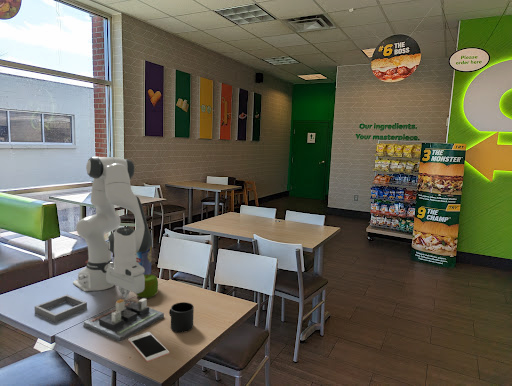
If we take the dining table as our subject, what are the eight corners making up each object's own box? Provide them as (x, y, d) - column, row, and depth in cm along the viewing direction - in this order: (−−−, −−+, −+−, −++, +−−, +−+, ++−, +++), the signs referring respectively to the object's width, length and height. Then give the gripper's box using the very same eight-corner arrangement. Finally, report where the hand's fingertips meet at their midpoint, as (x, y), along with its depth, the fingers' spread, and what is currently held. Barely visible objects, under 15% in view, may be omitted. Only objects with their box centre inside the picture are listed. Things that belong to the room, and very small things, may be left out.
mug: (176, 317, 157) (177, 298, 156) (197, 325, 151) (198, 305, 150) (161, 326, 149) (161, 306, 148) (182, 335, 143) (183, 314, 142)
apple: (151, 289, 186) (151, 269, 185) (162, 295, 179) (162, 275, 177) (131, 294, 178) (131, 274, 177) (141, 302, 171) (141, 280, 169)
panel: (83, 326, 147) (83, 308, 146) (129, 304, 167) (129, 288, 166) (119, 342, 136) (119, 323, 135) (163, 317, 157) (164, 300, 156)
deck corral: (34, 312, 156) (34, 306, 155) (66, 300, 169) (66, 294, 168) (55, 322, 149) (54, 315, 148) (87, 308, 162) (86, 302, 161)
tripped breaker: (115, 311, 152) (115, 301, 151) (121, 308, 154) (121, 298, 154) (118, 312, 151) (118, 302, 150) (124, 309, 154) (124, 299, 153)
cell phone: (149, 333, 144) (149, 331, 144) (169, 354, 131) (169, 351, 131) (127, 340, 138) (127, 338, 138) (147, 363, 125) (147, 360, 125)
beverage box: (137, 278, 199) (137, 241, 196) (151, 283, 194) (151, 244, 191) (127, 282, 193) (127, 244, 190) (141, 287, 188) (141, 247, 185)
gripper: (102, 262, 150) (102, 293, 152) (135, 274, 140) (134, 306, 142) (114, 258, 156) (114, 288, 158) (147, 269, 146) (146, 301, 148)
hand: (124, 297), depth 150 cm, fingers closed
